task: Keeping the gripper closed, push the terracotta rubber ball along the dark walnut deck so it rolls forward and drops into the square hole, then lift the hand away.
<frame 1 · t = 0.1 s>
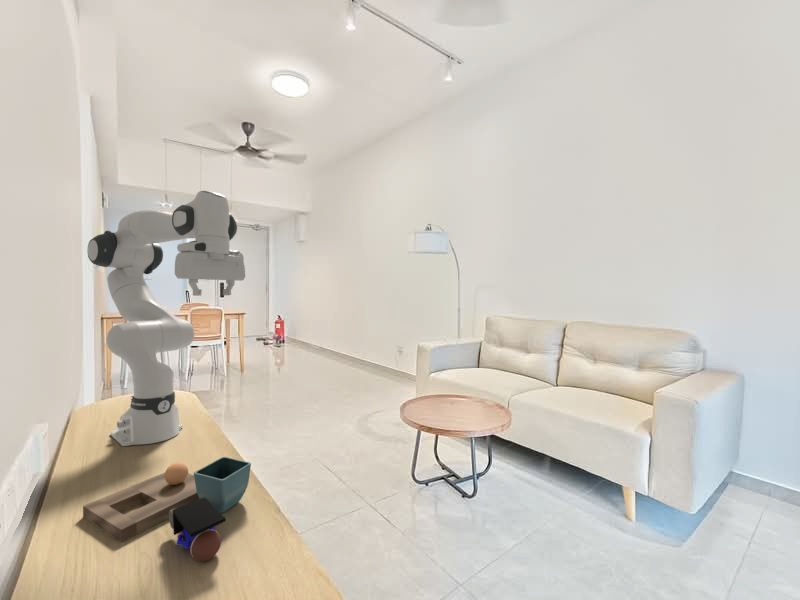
hand: (212, 295, 109), 48 cm above the table, tool pointing down, fingers open, 8 cm apart
walnut deck: (152, 504, 86), on the table
flower pot: (223, 506, 86), on the table
rubber ball: (176, 473, 91), point 5 cm above the table, touching walnut deck
figurine character: (196, 545, 73), on the table
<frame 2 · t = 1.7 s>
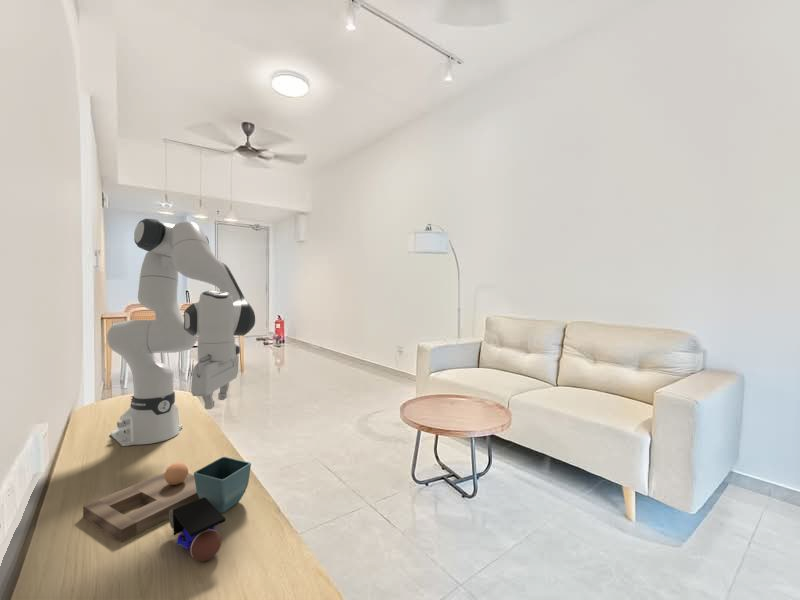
hand: (216, 403, 99), 19 cm above the table, tool pointing down, fingers open, 6 cm apart
nothing on the table moved.
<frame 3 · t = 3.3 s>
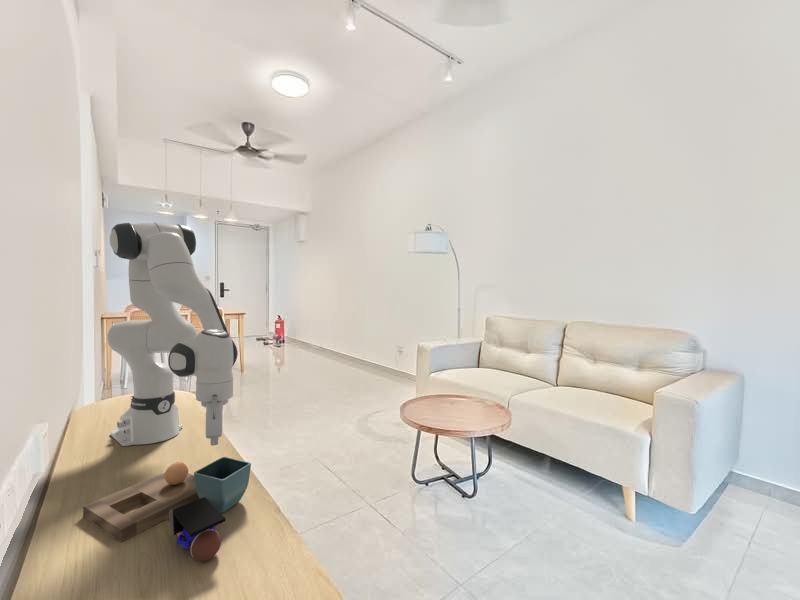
hand: (214, 443, 99), 9 cm above the table, tool pointing down, fingers closed
nothing on the table moved.
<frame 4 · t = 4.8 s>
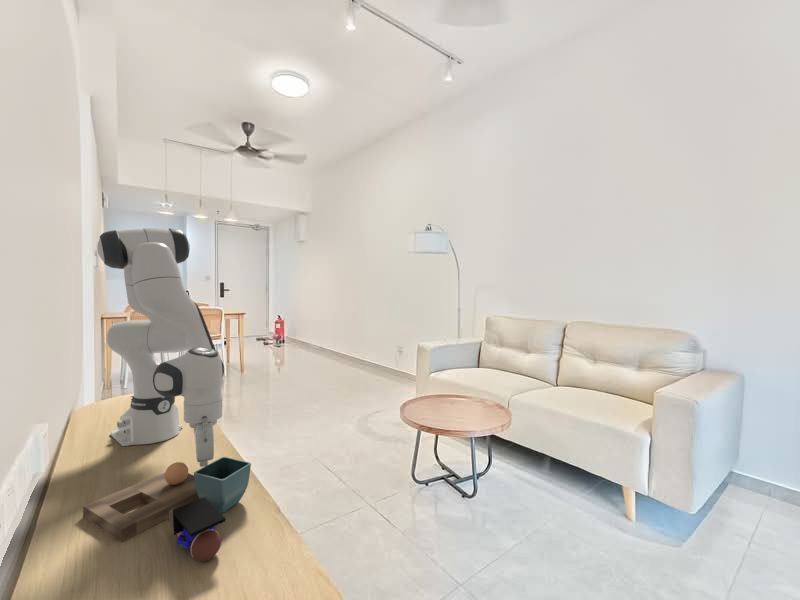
hand: (203, 464, 97), 4 cm above the table, tool pointing down, fingers closed
nothing on the table moved.
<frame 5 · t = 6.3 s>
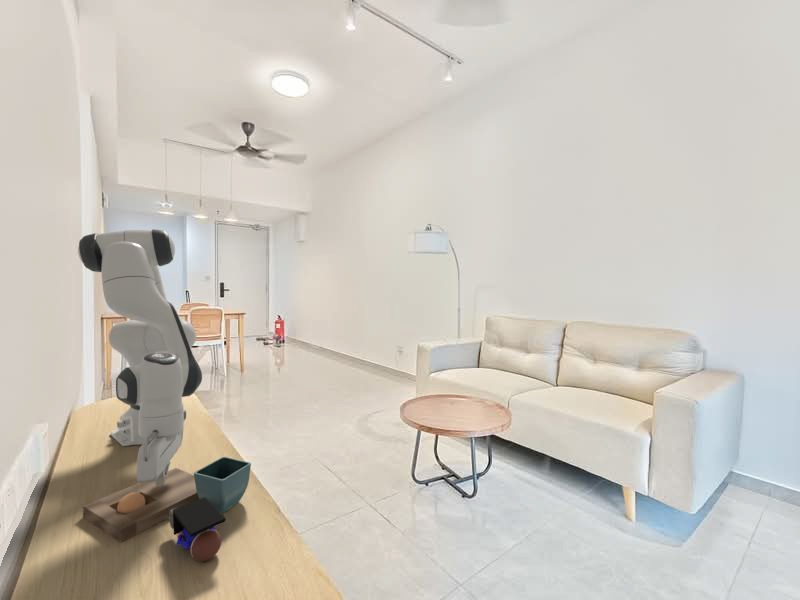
hand: (161, 482, 87), 4 cm above the table, tool pointing down, fingers closed
rubber ball: (131, 505, 81), point 2 cm above the table, tilted 106°
everything else where it was.
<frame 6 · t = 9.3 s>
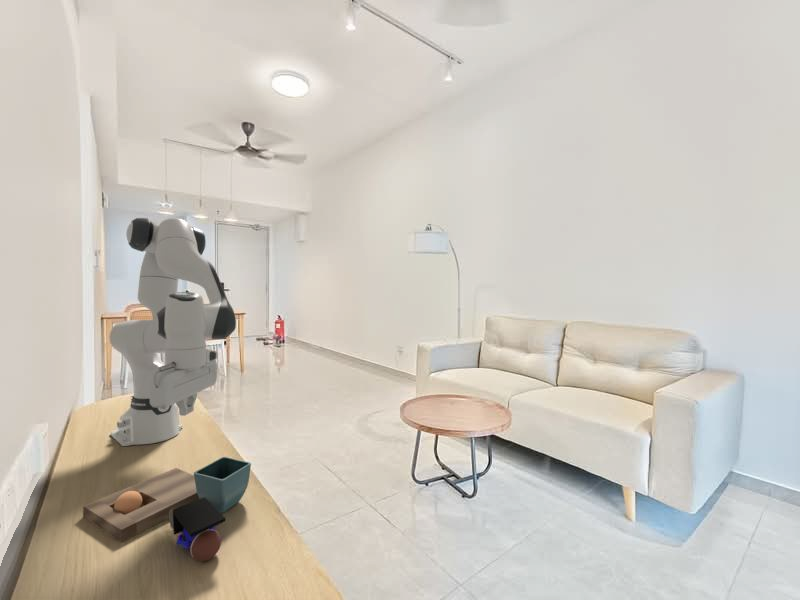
hand: (186, 413, 93), 19 cm above the table, tool pointing down, fingers closed
rubber ball: (128, 503, 82), point 2 cm above the table, tilted 118°
everything else where it was.
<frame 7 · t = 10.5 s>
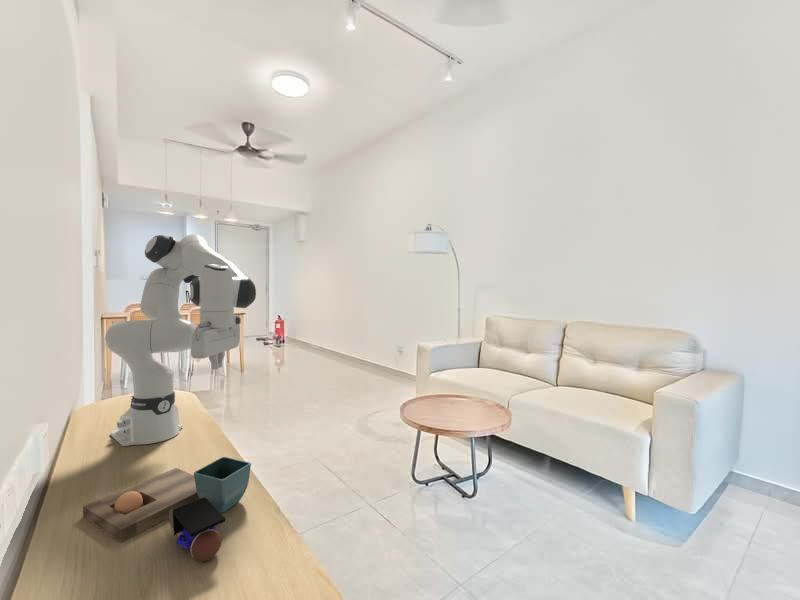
hand: (216, 368, 108), 27 cm above the table, tool pointing down, fingers closed
nothing on the table moved.
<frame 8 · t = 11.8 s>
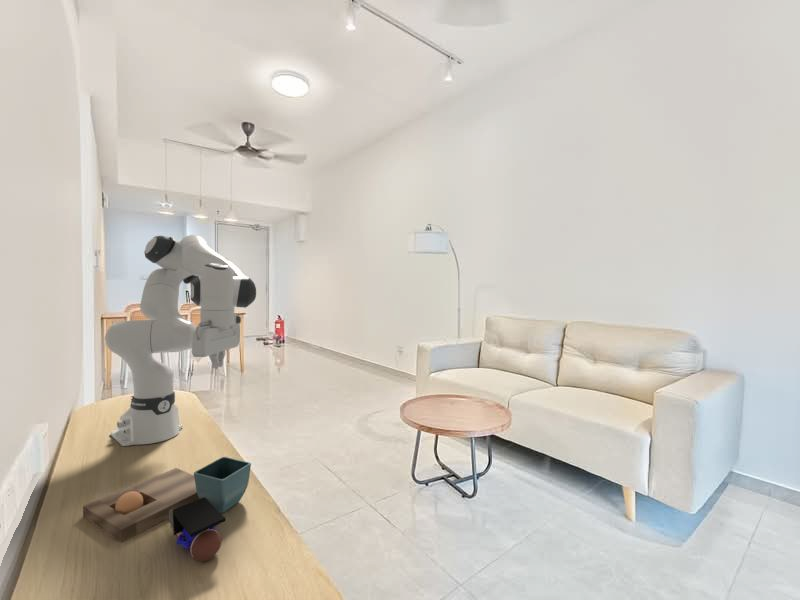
hand: (217, 367, 108), 27 cm above the table, tool pointing down, fingers closed
nothing on the table moved.
at the end: rubber ball 0.7 cm from the target spot on the walnut deck, point 2.5 cm above the walnut deck's base; the gripper is holding nothing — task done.
